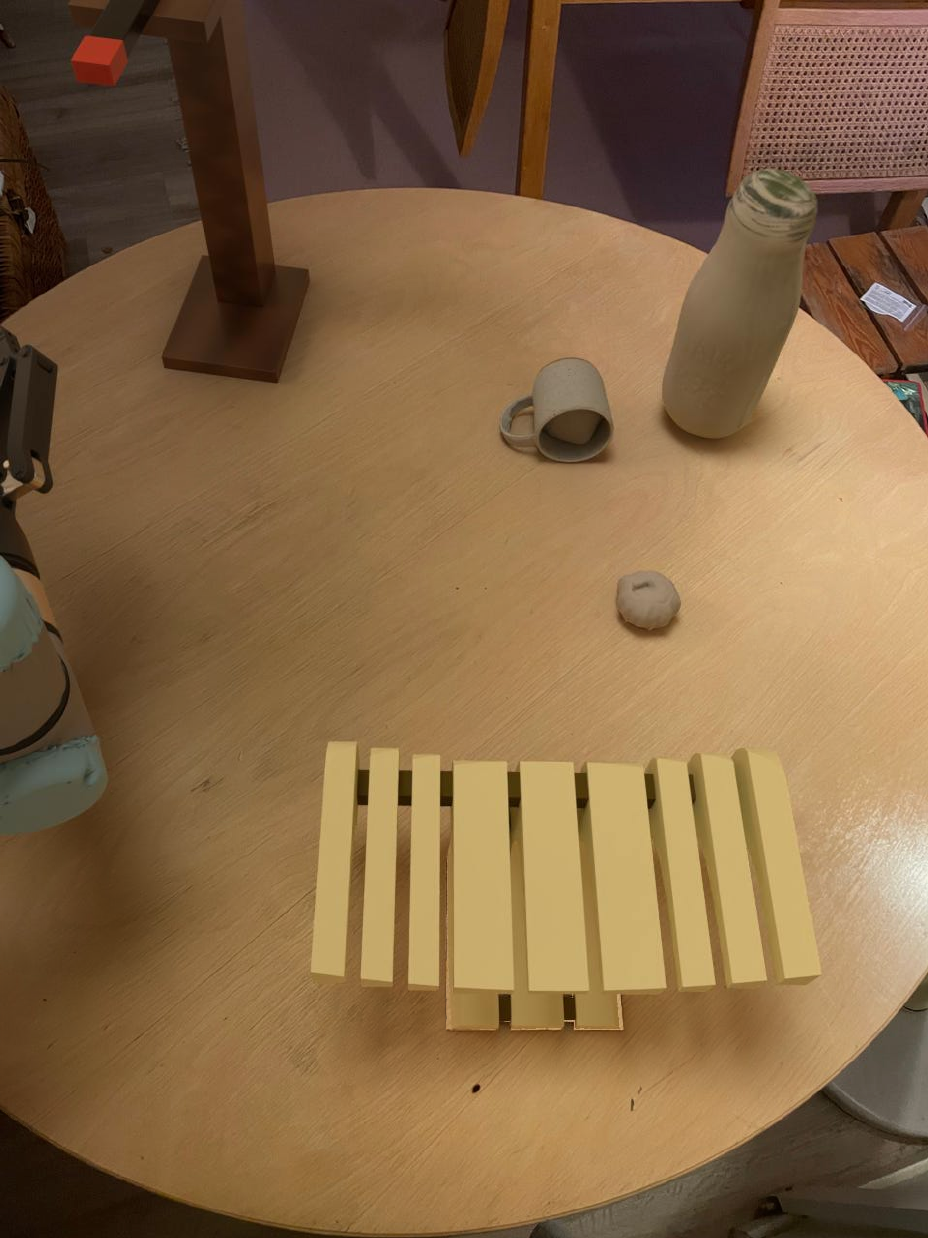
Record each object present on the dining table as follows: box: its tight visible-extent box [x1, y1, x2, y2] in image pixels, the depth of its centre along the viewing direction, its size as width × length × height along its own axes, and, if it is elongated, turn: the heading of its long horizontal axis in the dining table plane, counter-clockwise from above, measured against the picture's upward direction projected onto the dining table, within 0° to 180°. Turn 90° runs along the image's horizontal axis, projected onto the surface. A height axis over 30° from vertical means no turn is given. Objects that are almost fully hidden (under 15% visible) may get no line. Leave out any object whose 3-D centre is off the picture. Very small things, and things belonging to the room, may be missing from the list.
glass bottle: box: [661, 167, 819, 439], centre depth 96 cm, size 10×10×28 cm
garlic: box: [616, 570, 682, 631], centre depth 93 cm, size 6×5×5 cm
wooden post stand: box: [67, 0, 311, 384], centre depth 95 cm, size 12×18×38 cm, turn 172°
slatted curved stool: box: [310, 740, 823, 1030], centre depth 72 cm, size 30×16×18 cm, turn 90°
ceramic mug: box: [499, 356, 615, 463], centre depth 103 cm, size 11×8×8 cm
